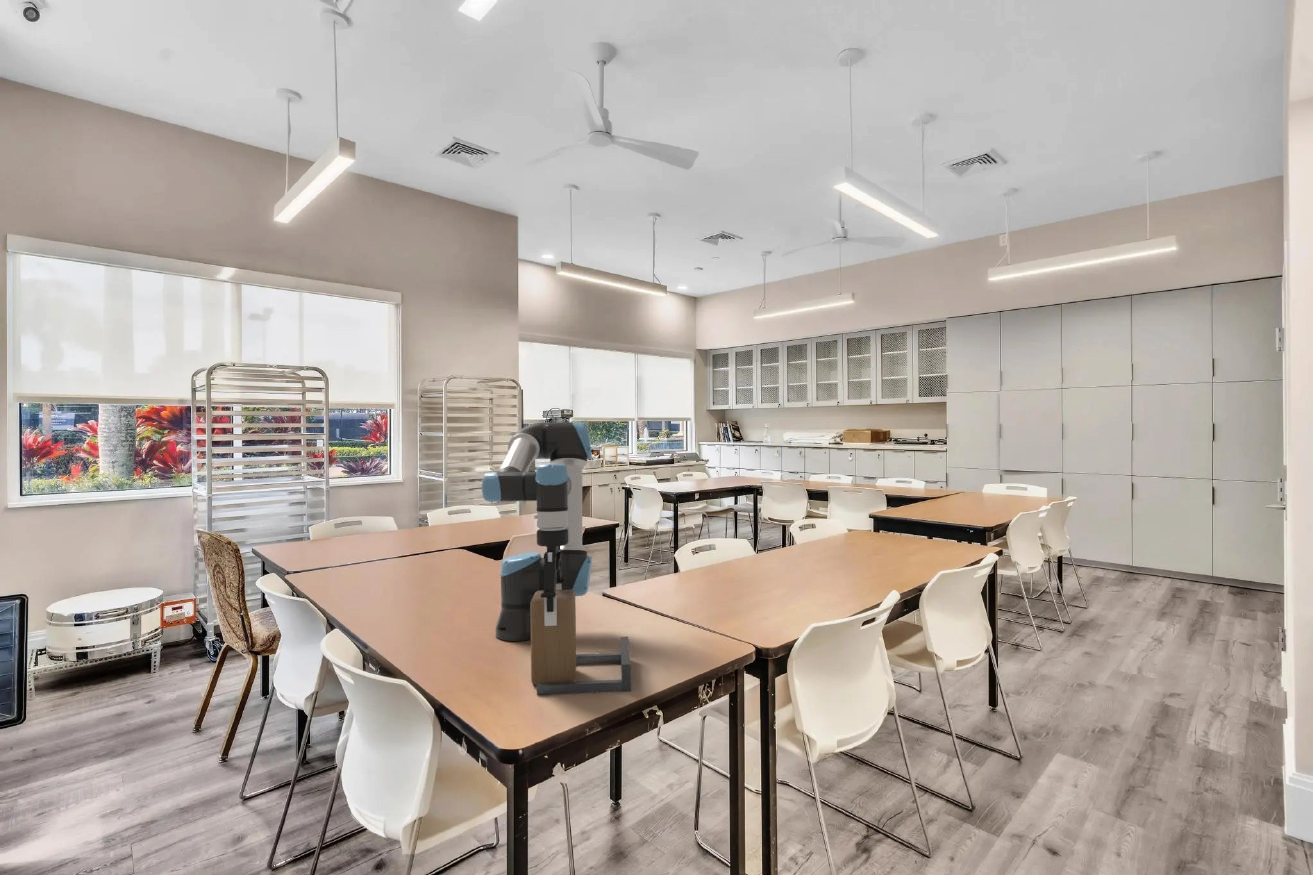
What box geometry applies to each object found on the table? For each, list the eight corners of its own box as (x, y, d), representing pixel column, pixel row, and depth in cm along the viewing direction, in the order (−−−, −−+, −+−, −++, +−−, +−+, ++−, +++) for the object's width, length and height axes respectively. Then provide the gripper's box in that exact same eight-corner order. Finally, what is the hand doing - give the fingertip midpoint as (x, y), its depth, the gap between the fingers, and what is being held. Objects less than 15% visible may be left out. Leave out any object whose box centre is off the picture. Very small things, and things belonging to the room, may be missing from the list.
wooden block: (535, 670, 150) (534, 589, 150) (576, 669, 150) (575, 588, 151) (530, 687, 140) (529, 600, 140) (574, 684, 140) (573, 598, 141)
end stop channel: (536, 695, 135) (536, 668, 135) (546, 663, 155) (546, 639, 155) (630, 690, 136) (630, 664, 136) (628, 659, 156) (628, 636, 156)
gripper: (542, 522, 158) (543, 604, 157) (529, 535, 133) (530, 633, 132) (571, 522, 158) (572, 603, 158) (564, 534, 133) (565, 631, 133)
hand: (553, 617), depth 145 cm, fingers open, 13 cm apart
